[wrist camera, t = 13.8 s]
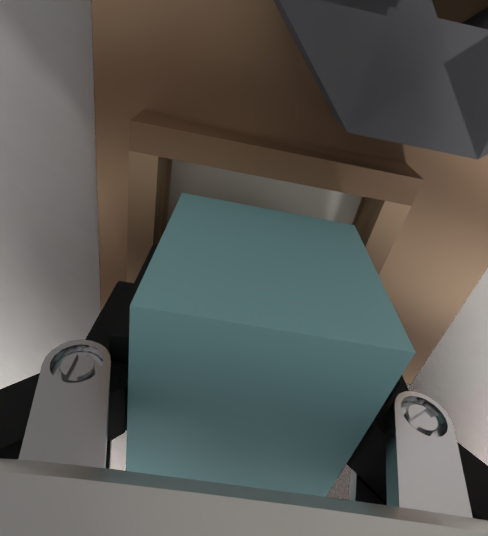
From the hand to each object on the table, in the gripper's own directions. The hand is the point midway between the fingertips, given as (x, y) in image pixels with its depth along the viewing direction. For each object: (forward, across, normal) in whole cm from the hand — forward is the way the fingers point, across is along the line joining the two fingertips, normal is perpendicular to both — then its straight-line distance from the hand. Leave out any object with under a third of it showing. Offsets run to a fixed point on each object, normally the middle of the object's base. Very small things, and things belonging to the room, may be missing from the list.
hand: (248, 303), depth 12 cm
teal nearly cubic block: (0, 0, 0) cm, 0 cm away
